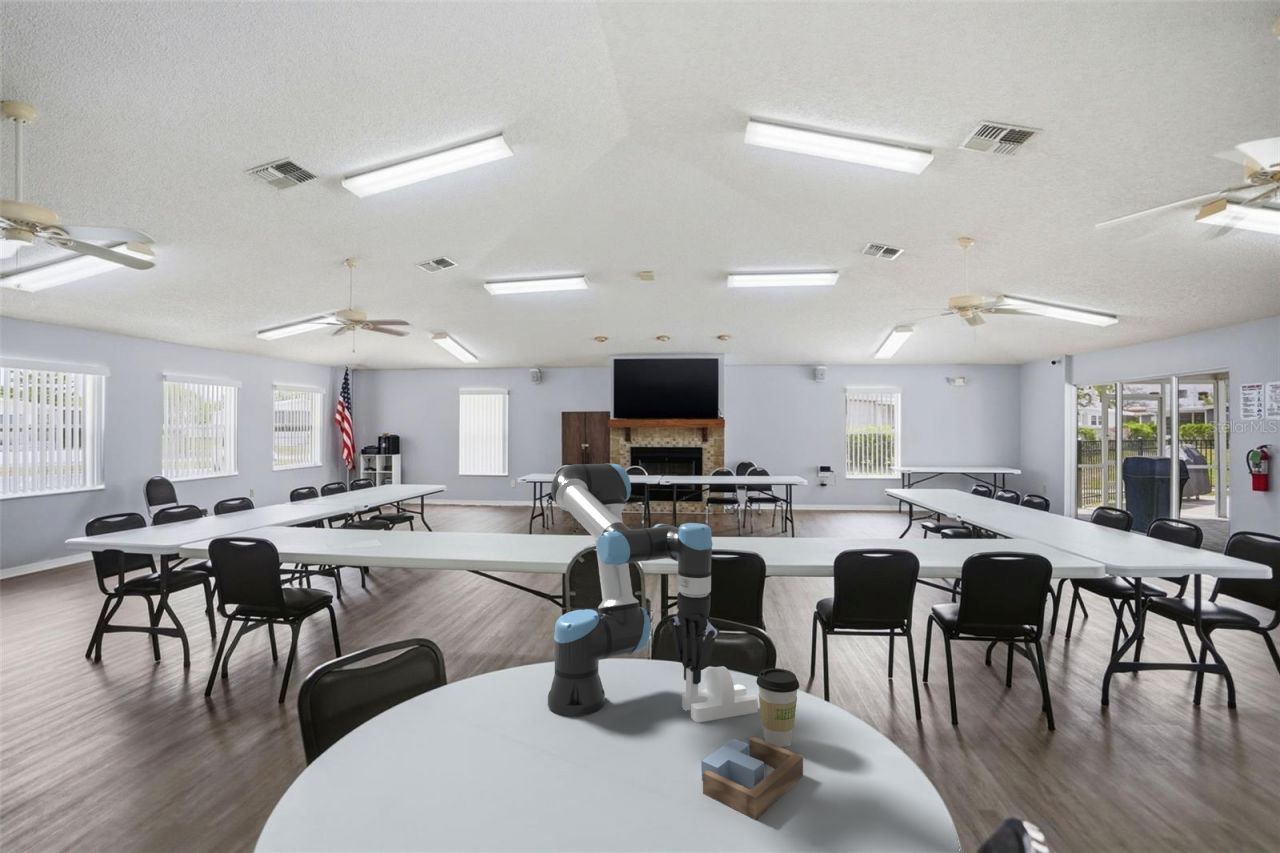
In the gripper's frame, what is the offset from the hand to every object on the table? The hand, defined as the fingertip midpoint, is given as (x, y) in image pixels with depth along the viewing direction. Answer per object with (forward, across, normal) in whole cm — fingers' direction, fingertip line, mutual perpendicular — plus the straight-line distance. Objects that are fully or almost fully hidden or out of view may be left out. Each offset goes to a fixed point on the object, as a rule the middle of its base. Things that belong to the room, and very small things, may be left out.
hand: (691, 696), depth 132 cm
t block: (+11, +14, -2) cm, 18 cm away
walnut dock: (+11, +19, -2) cm, 22 cm away
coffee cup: (+12, +13, +17) cm, 24 cm away
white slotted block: (+13, -6, +20) cm, 25 cm away
